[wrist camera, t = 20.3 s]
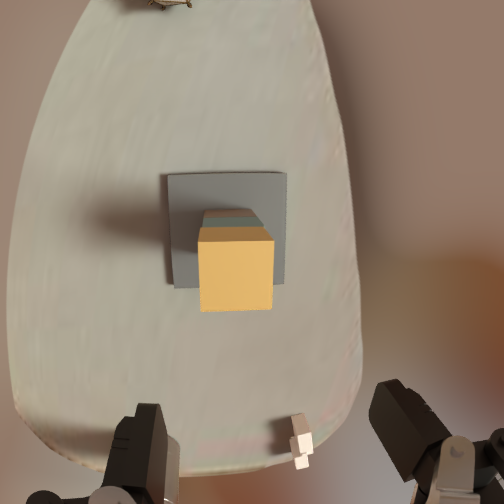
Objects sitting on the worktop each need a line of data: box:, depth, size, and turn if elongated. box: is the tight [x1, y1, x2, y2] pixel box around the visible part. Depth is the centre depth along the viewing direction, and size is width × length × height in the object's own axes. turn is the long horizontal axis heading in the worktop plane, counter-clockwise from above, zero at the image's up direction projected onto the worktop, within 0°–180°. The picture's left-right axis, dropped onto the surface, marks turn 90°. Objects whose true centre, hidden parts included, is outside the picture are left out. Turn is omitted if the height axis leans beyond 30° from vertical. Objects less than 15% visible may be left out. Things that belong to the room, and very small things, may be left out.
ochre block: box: [198, 227, 274, 312], centre depth 26 cm, size 6×6×5 cm
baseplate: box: [168, 173, 287, 288], centre depth 36 cm, size 14×14×6 cm
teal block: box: [202, 217, 265, 228], centre depth 30 cm, size 6×6×5 cm
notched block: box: [289, 413, 313, 469], centre depth 49 cm, size 15×11×6 cm
